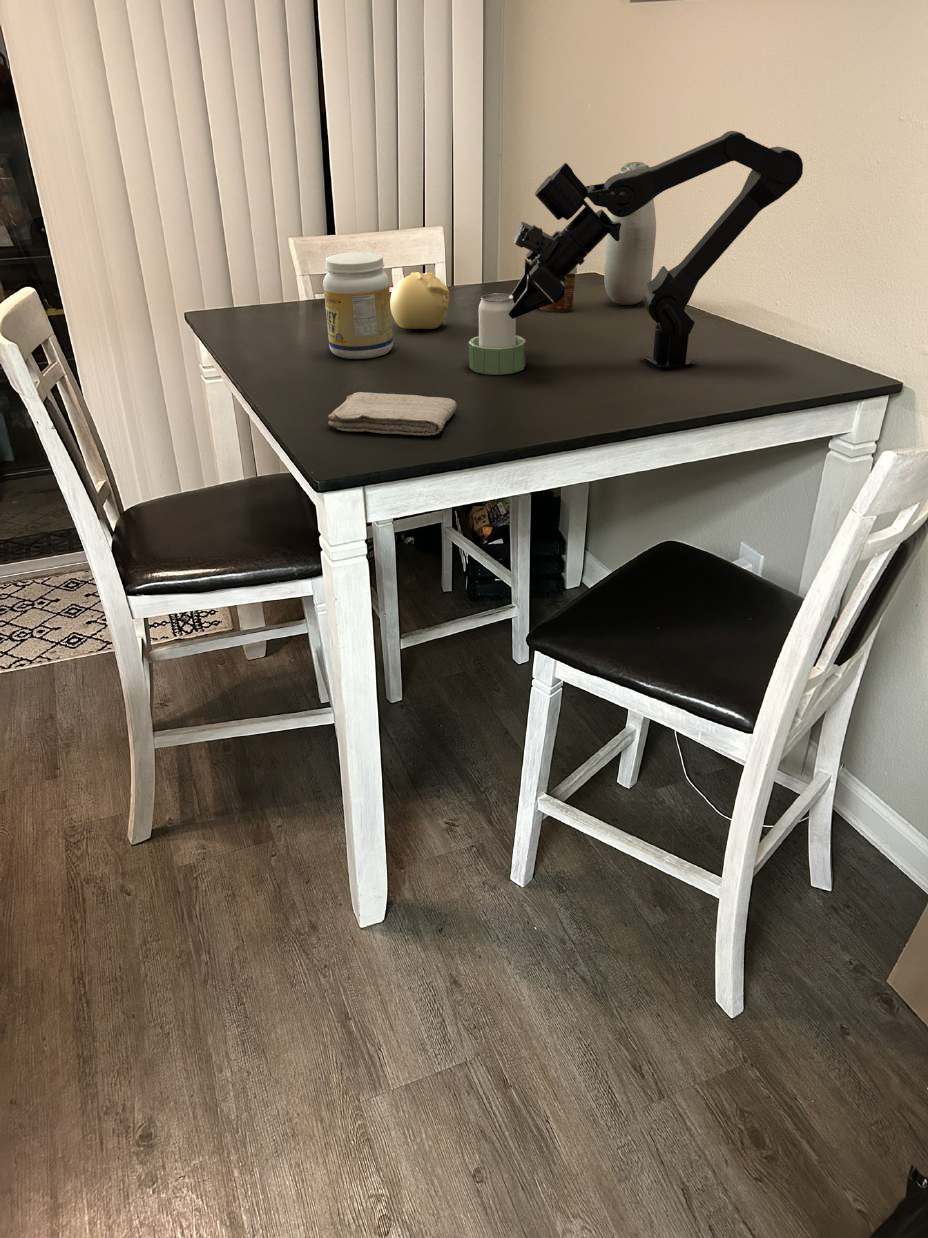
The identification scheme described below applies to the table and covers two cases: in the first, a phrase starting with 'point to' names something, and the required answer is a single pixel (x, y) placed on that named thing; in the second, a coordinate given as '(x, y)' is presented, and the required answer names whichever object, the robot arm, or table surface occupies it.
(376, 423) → the washcloth
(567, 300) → the food container
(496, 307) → the can
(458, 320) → the table surface
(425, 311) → the sculpture
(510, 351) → the segmented ring
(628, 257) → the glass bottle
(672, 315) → the robot arm
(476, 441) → the table surface
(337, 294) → the supplement tub
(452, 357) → the table surface
